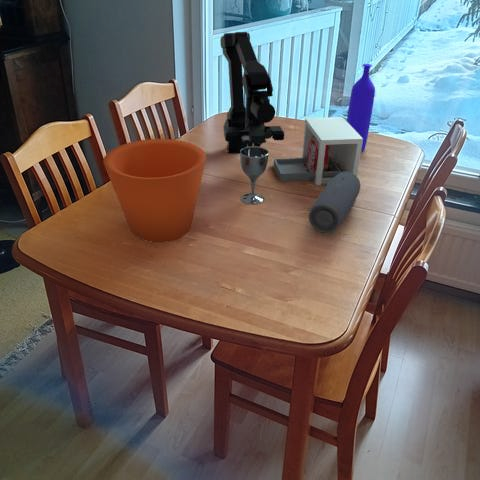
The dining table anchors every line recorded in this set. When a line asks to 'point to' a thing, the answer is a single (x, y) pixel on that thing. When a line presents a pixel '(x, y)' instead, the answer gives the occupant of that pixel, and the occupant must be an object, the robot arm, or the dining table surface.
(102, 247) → the dining table surface
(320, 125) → the white side table
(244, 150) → the wine glass
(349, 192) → the bluetooth speaker
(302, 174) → the tray
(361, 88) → the bottle
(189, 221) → the flowerpot
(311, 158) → the soda can
